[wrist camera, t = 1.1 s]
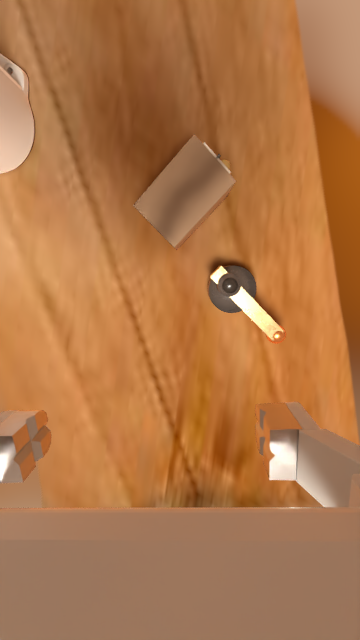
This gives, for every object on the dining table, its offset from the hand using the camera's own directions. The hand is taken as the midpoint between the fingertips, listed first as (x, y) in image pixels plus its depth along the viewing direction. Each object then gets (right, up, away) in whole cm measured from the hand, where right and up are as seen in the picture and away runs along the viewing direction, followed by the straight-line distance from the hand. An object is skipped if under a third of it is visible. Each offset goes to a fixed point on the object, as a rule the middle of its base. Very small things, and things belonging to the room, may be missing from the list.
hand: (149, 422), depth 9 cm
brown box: (+2, +23, +32) cm, 39 cm away
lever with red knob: (+13, +7, +35) cm, 38 cm away
